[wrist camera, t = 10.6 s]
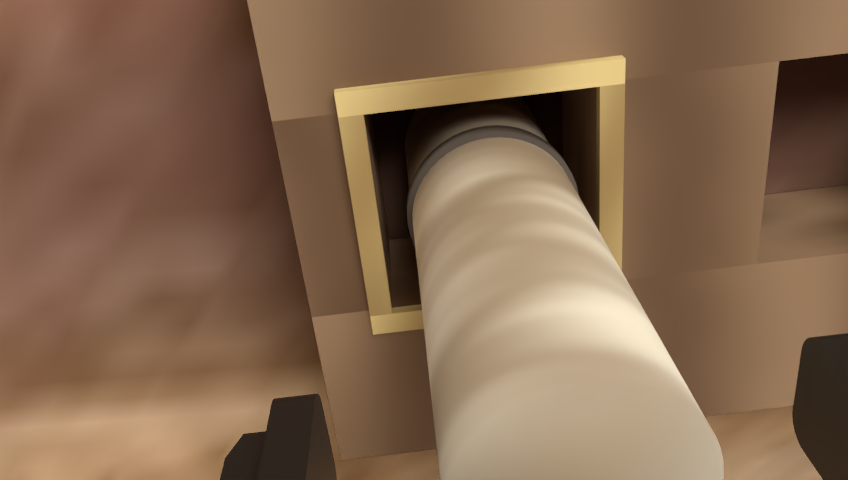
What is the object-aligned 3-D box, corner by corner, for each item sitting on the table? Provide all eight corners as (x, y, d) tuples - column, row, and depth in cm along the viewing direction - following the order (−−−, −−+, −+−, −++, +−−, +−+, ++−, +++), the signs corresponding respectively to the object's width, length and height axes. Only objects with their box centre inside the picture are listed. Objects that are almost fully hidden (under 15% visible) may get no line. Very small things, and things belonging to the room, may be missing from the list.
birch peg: (539, 66, 22) (745, 356, 10) (543, 199, 24) (721, 578, 12) (392, 84, 22) (419, 395, 10) (409, 215, 24) (448, 611, 12)
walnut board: (1033, -218, 20) (1190, -230, 16) (913, 310, 27) (1001, 387, 23) (249, -126, 20) (220, -116, 16) (344, 378, 27) (340, 467, 23)
